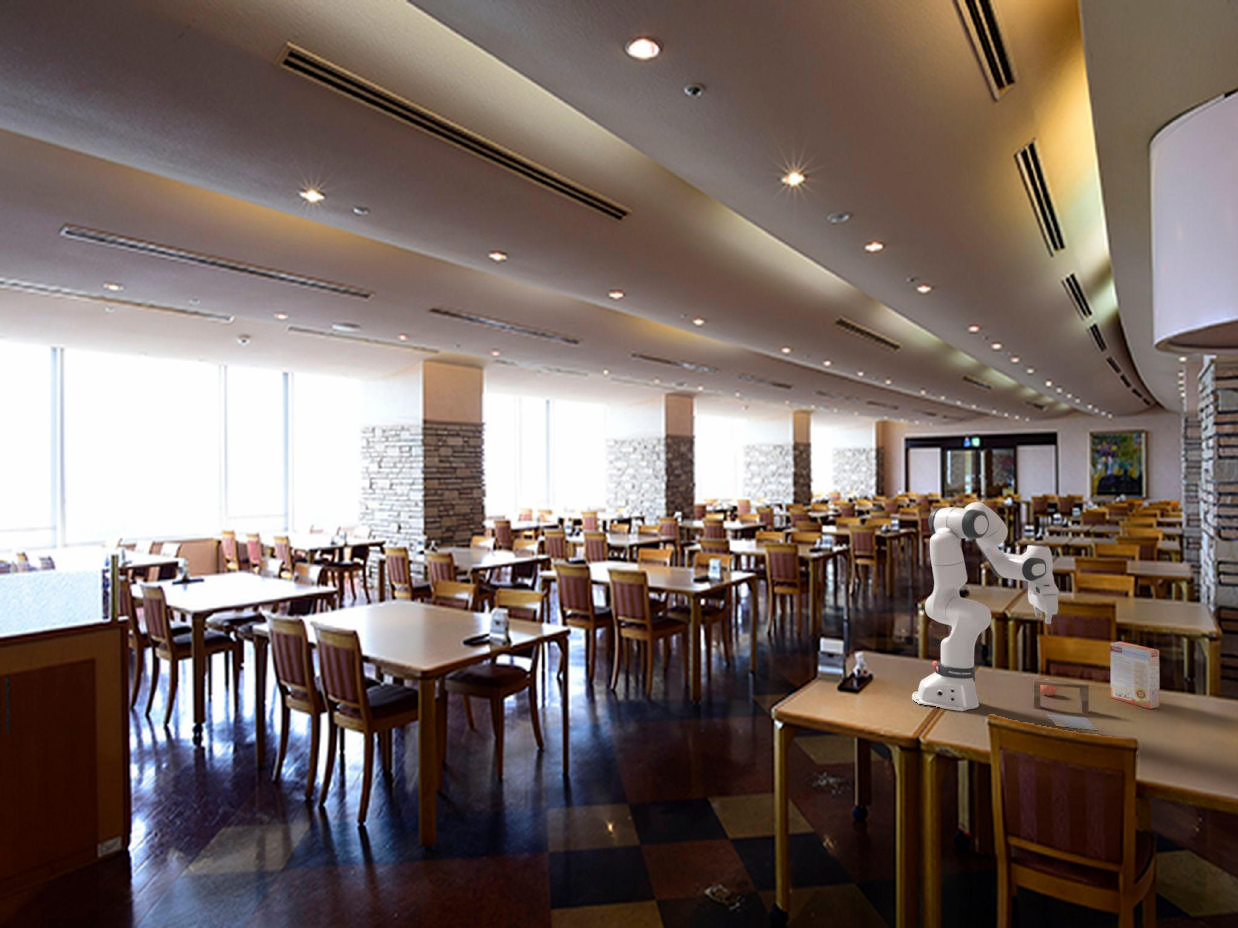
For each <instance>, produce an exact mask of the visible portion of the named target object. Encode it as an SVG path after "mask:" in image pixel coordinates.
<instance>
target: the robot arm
mask: <svg viewBox="0 0 1238 928" xmlns="http://www.w3.org/2000/svg"><path fill="white" fill-rule="evenodd" d="M927 522H928V523H927V524H928V527H929V531H930V533H931V537H930V539H929V557H930V563H931V567H932V575H933V582H934V584H933V591H932V593H931V594H930V596H928V597H927V599H926V601H925V603H924V610H925V613H926V615H927V616H928V617H929V618H930V619H932V620H934V621H935V622H938V623H940V624H944V625H947V626H950V627H951V631H950V634H949V636H947V637H944V638H943V639H942V640H941V642H940V661H939V662H938V661H936V660H934V661H932V666H933V668H934V672H933V673H931V674H929V675H928V676H926V677H925V678H922V679H921V680H920V682H919V685H918V689H917V690H918V691H914V692H913V693H912V695H911V699H912V701H913V700H914V701H915V702H917V703H918V704H917V703H916V704H917V705H919V704H924V705H934V706H936V707H935V708H937V707H940V708H939V709H945V710H950V711H951V710H952V711H958V712H965V711H967V710H972V709H976V708H979V707H980V704H979V701H978V700H979V699H978V697H977V692H976V691H977V690H976V686H975V685H976V684H975V683H976V679H977V678H976V677H977V676H976V671H977V670H976V666H975V647H976V646H975V645H976V642H977V640H978V638H979V635H980V634H981V633H982V632H983V631H985V630H986V629H988V627H989V626H990V625H991V622H992V613H991V610H990V608H989V607H988V606H987V605H985V604H984V603H981V602H980V601H977V600H976V599H975V600H974V599H969V598H965V597H961V595H960V589H961V588H962V587H963V586H964V585H965V584H966V583H967V582H968V573H967V569H966V563H965V558H964V554H963V550H962V547H961V540H962V539H970V540H975V542H974V543H975V544H976V546H977V547H978V549H979V550H980V552H981V553H982V555H983V557H984V558H985V559H986V561H987V562H988V565H989V566H990V569H991V572H992V574H993V575H994V576H995V577H996V578H999V579H1012V580H1016V581H1023V582H1024V581H1025V582H1027V584H1028V585H1027V588H1028V589H1027V599H1028V600H1027V601H1028V603H1029V604H1031V606H1033V609H1034V613H1035V615H1034V616H1035V617H1036V618H1042V617H1043V614H1042V612H1043V613H1044V615H1045V618H1044V623H1045V624H1047V625H1051V624H1052V619H1053V618H1052V617H1053V615H1058V612H1059V599H1058V598H1059V597H1058V594H1059V593H1060V590H1059V588H1058V587H1057V585H1056V584H1055V578H1054V575H1053V568H1054V564H1053V563H1054V562H1053V555H1052V550H1051V549H1050V547H1049V546H1048V545H1043V544H1042V545H1041V544H1033V543H1031V544H1028V545H1027V548H1026V551H1025V552H1024V553H1022V554H1015V553H1014V554H1013V553H1006V552H1003V551H1001V550H1000V549H999V547H998V546H1000V545H1001V544H1003V543H1004V541H1006V538H1007V536H1008V532H1009V529H1008V526H1007V525H1006V524H1005V522H1004V521H1003V520H1002V518H1001V517H1000V516H999V514H997V513H996V512H995V511H994V510H993V509H992V508H990V507H989V506H987V505H986V504H984V503H983V502H979V501H976V502H975V501H973V502H970V503H968V505H966V506H965V507H964V508H962V507H955V506H953V507H951V506H950V507H946V506H945V507H944V506H941V507H937V508H935V509H934V508H933V510H931V512H930V514H929V516H928V519H927ZM914 701H913V702H914ZM915 702H914V703H915ZM924 705H923V706H924Z"/></svg>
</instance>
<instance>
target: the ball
mask: <svg viewBox="0 0 1238 928" xmlns="http://www.w3.org/2000/svg"><path fill="white" fill-rule="evenodd" d="M1043 680H1050V678H1049V679H1048V678H1044V679H1043ZM1057 692H1058V686H1048V685H1040V693H1041V694H1043V695H1045V696H1048V697H1050V696H1054V695H1055V694H1057Z"/></svg>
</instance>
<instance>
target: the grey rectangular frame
mask: <svg viewBox="0 0 1238 928" xmlns="http://www.w3.org/2000/svg"><path fill="white" fill-rule="evenodd" d="M1040 685H1048V686H1057V687H1062V688H1072V689H1073V688H1074V689H1079V694H1078V695H1079V697H1078V698H1079V700H1078V701H1079V711H1080V712H1081V713H1084V714H1085V713H1086V714H1089V713H1090V712H1089V710H1090V709H1089V707H1090V706H1089V699H1090V698H1089V695H1090V694H1089V689H1090V688H1089V685H1088V683H1087V682H1077V681H1065V680H1055V679H1054V680H1053V679H1049V680H1044V679H1043V678H1042V679H1041V678H1031V706H1032V707H1033V708H1034V709H1041V691H1040Z"/></svg>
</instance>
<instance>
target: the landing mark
mask: <svg viewBox="0 0 1238 928" xmlns="http://www.w3.org/2000/svg"><path fill="white" fill-rule="evenodd" d="M1046 716H1047V717H1048V718H1049V720H1050V719H1051V720H1053V719H1054V720H1062V721H1051V720H1050V721H1051V722H1052V723H1053V722H1062V723H1065V724H1064V725H1069V728H1068V729H1073V728H1078V729H1077V730H1081V729H1080V727H1075V726H1086V727H1081V728H1095V730H1098V728H1096V727H1095V726H1094V725H1093V723H1092V722H1091V721H1090V720H1089V719H1088V718H1087V717H1082V716H1081V717H1080V716H1071V715H1059V714H1049V713H1046ZM1090 726H1094V727H1090ZM1088 731H1094V729H1089V730H1088Z"/></svg>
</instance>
